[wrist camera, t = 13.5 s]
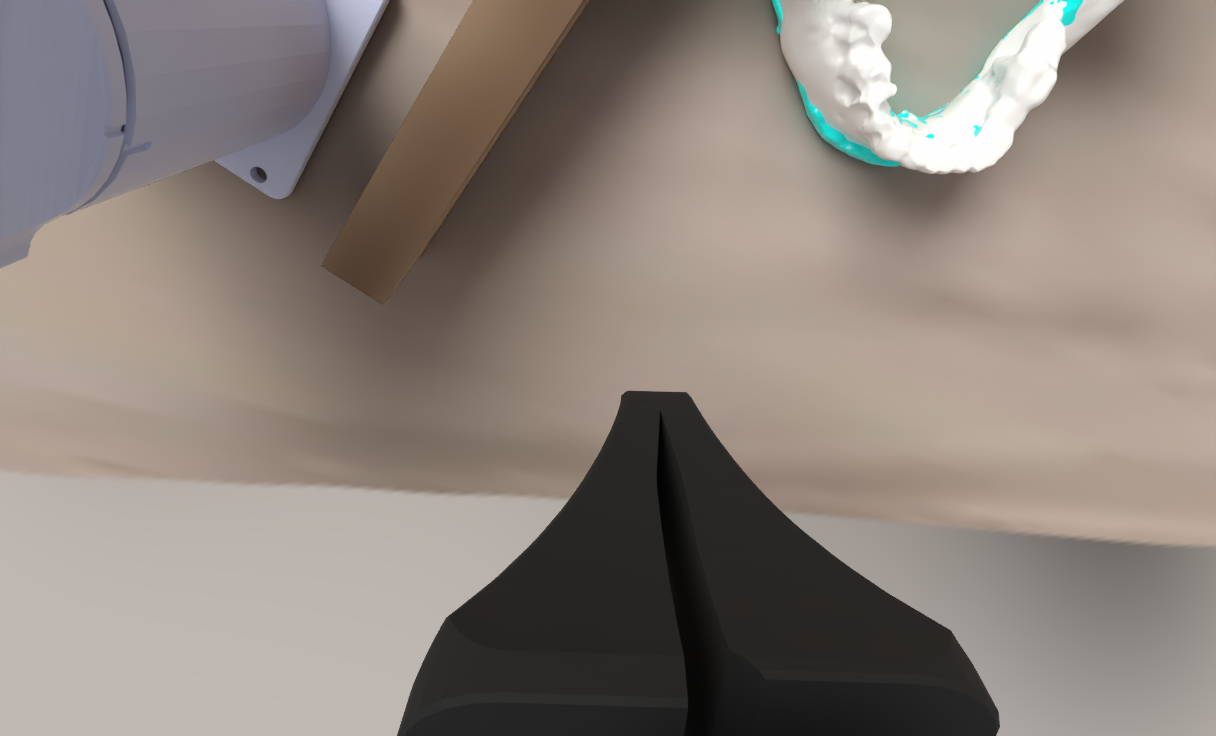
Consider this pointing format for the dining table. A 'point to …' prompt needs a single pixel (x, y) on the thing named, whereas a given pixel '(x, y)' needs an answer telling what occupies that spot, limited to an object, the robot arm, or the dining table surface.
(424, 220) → the cleat board
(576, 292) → the dining table surface
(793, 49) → the jawbone
